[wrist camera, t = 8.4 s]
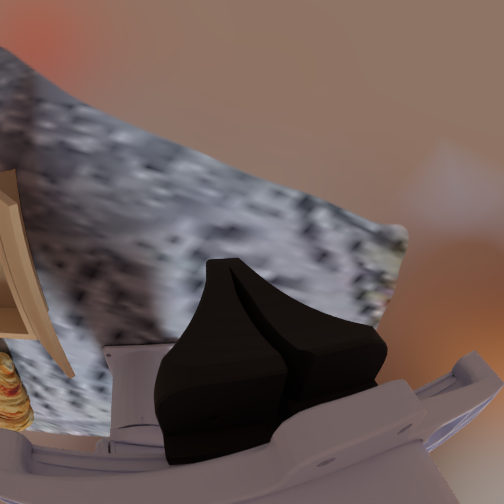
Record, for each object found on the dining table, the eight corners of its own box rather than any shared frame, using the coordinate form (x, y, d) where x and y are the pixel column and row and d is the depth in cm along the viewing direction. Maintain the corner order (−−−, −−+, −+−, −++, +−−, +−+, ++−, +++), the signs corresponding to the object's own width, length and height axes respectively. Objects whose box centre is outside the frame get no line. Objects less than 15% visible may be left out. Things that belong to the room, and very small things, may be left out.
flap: (36, 336, 18) (40, 333, 18) (70, 379, 16) (75, 375, 16) (-9, 190, 12) (-3, 187, 13) (8, 206, 10) (17, 203, 10)
